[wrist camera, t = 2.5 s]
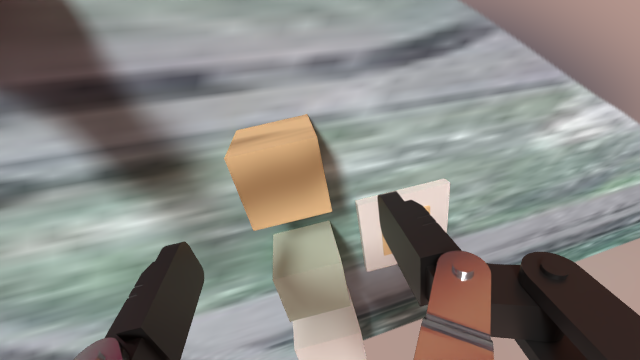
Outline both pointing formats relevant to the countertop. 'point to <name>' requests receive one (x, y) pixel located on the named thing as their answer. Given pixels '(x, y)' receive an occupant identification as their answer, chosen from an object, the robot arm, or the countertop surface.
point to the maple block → (278, 172)
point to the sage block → (309, 271)
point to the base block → (329, 336)
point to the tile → (371, 235)
